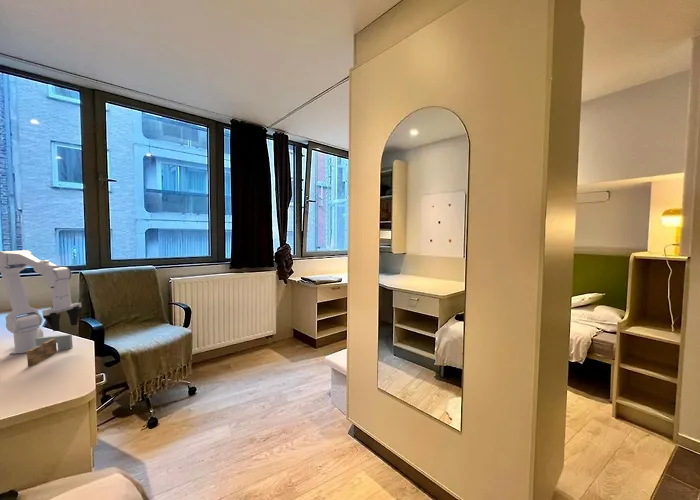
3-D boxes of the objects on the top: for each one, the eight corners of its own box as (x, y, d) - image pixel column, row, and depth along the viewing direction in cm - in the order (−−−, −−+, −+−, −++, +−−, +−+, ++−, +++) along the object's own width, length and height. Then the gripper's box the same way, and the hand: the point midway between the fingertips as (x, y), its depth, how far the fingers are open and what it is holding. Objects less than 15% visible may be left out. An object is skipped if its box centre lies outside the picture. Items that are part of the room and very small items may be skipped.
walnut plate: (52, 352, 129) (51, 339, 129) (56, 352, 130) (55, 338, 129) (28, 366, 116) (26, 351, 116) (33, 365, 116) (31, 350, 116)
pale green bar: (39, 351, 132) (38, 337, 132) (72, 347, 135) (71, 334, 135) (36, 352, 130) (35, 338, 130) (70, 348, 134) (69, 335, 133)
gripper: (52, 299, 120) (56, 332, 121) (86, 292, 134) (90, 322, 135) (35, 300, 120) (40, 334, 121) (71, 293, 135) (75, 323, 136)
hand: (65, 327), depth 128 cm, fingers open, 7 cm apart
